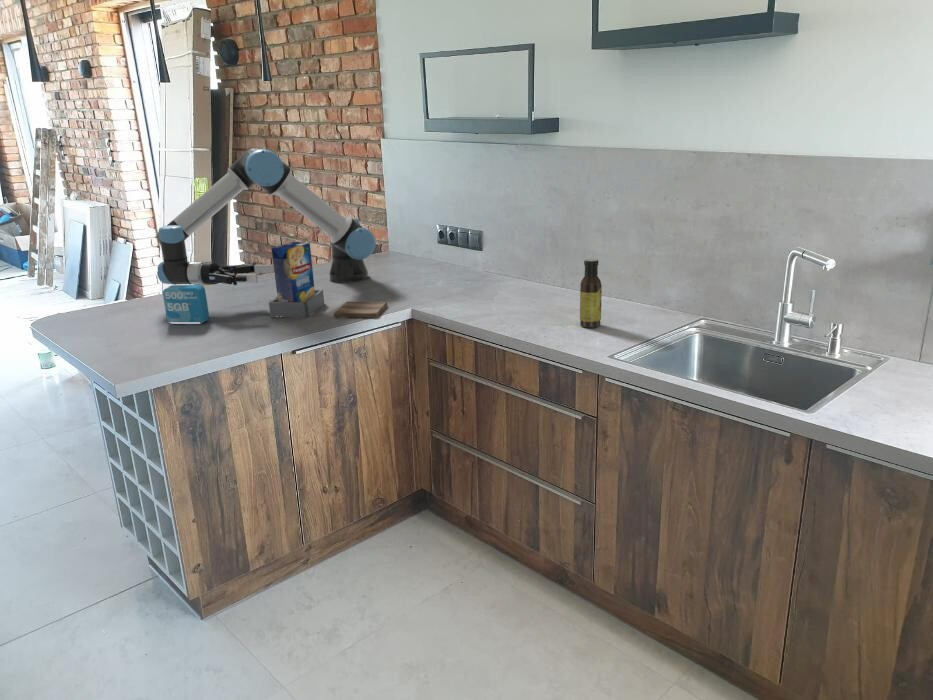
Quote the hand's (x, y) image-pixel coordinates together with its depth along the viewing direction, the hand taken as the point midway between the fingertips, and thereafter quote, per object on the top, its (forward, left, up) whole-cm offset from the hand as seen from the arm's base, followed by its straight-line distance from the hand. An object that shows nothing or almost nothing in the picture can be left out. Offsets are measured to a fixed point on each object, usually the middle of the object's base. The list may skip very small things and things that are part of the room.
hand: (265, 273), depth 235 cm
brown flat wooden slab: (+1, +32, -13) cm, 34 cm away
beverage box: (0, +10, -13) cm, 16 cm away
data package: (+15, -21, -13) cm, 29 cm away
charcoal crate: (0, +10, -13) cm, 16 cm away
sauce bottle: (+14, +106, -13) cm, 108 cm away
